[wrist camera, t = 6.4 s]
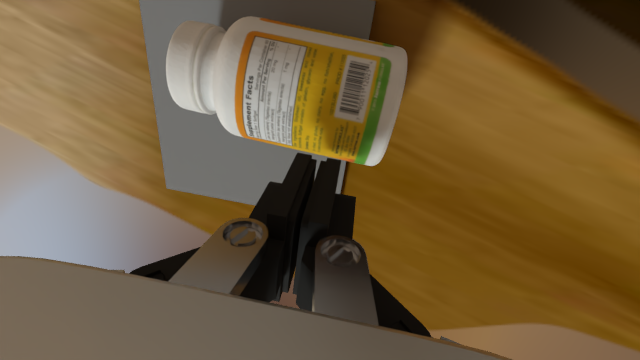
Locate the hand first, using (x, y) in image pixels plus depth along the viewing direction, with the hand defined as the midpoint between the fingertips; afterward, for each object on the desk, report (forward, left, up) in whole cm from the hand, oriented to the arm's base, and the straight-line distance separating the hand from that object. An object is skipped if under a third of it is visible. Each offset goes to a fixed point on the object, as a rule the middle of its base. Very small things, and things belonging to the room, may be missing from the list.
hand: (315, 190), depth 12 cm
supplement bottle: (-3, -2, -4) cm, 6 cm away
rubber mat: (+5, 0, -8) cm, 9 cm away
